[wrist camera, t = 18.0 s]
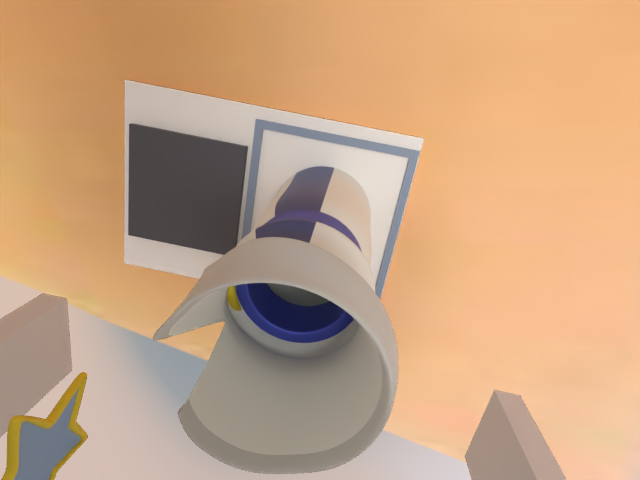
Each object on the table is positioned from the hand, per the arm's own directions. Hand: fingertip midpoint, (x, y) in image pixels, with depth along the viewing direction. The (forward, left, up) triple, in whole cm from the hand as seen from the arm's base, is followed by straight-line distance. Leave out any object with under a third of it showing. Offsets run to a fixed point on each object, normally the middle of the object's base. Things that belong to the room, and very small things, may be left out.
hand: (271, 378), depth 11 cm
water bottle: (0, 0, -19) cm, 19 cm away
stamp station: (0, -5, -20) cm, 21 cm away
